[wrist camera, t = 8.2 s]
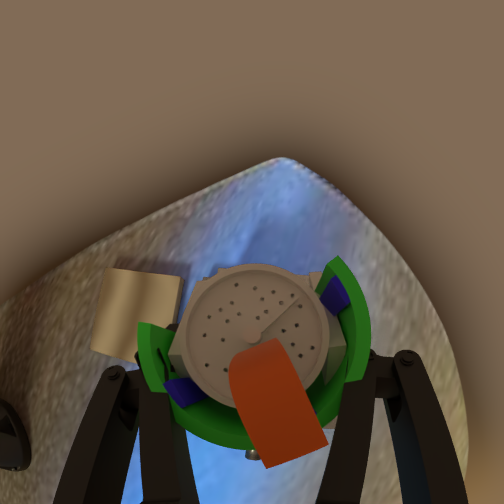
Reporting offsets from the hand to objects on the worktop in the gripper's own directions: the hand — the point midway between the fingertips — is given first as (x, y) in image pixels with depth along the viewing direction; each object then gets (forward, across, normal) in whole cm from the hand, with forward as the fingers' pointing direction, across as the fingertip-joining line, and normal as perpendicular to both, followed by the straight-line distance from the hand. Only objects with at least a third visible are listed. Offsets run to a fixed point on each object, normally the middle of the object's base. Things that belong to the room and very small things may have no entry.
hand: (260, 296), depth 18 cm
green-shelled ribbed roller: (+3, 0, -8) cm, 8 cm away
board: (+13, -18, -11) cm, 25 cm away
